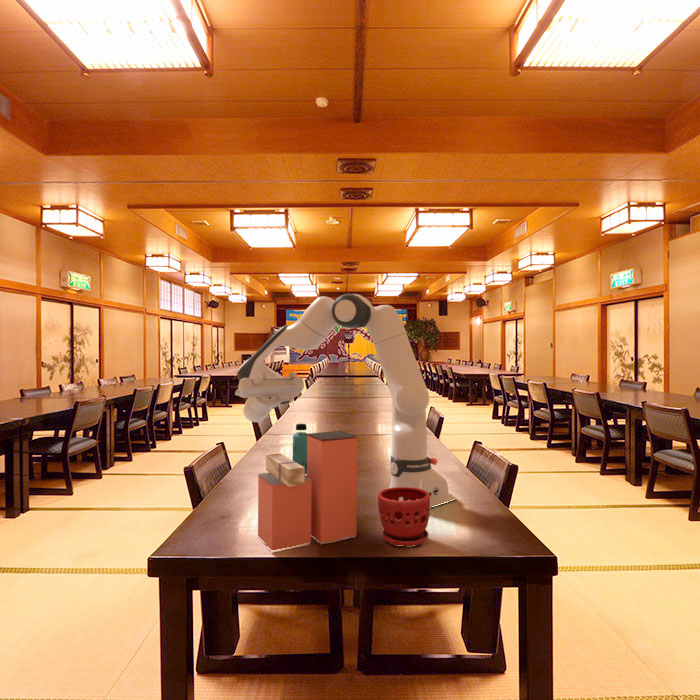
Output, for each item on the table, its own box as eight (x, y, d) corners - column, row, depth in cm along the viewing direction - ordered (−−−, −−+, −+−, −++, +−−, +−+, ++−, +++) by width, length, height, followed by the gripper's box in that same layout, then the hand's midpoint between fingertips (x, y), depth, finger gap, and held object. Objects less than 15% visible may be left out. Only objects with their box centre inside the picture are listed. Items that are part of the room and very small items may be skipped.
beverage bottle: (300, 473, 178) (301, 421, 178) (312, 476, 174) (313, 423, 174) (288, 476, 173) (288, 423, 173) (300, 480, 169) (301, 425, 169)
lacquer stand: (334, 521, 128) (335, 428, 128) (356, 538, 117) (357, 436, 117) (257, 536, 118) (258, 435, 118) (274, 555, 107) (274, 444, 107)
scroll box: (280, 468, 124) (280, 453, 124) (304, 484, 109) (304, 467, 109) (265, 470, 122) (265, 454, 122) (288, 486, 107) (288, 469, 107)
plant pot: (424, 529, 123) (424, 485, 123) (434, 551, 110) (435, 501, 110) (375, 530, 122) (375, 485, 122) (380, 551, 109) (380, 501, 109)
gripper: (232, 386, 144) (242, 366, 134) (293, 384, 154) (307, 365, 143) (234, 405, 141) (245, 385, 131) (296, 402, 151) (311, 383, 140)
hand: (278, 375), depth 137 cm, fingers open, 8 cm apart
